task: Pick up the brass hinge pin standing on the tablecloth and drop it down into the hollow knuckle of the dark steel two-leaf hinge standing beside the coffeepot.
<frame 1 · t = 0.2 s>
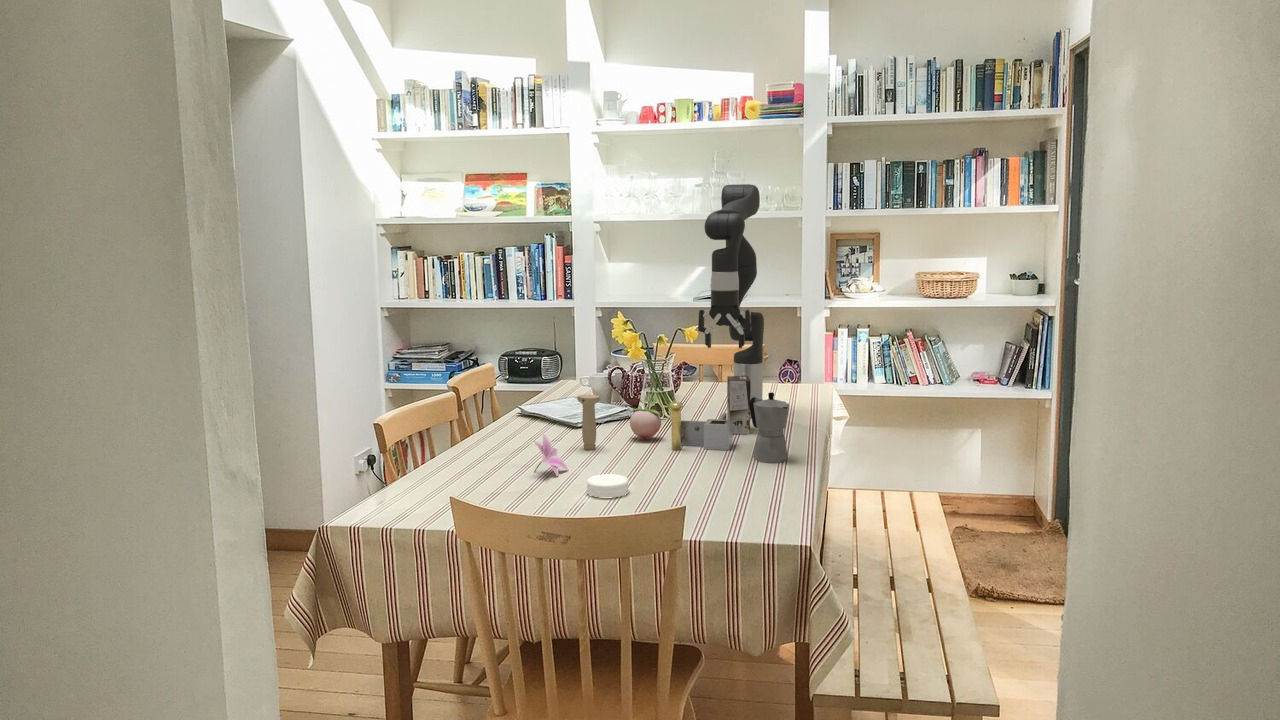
hand: (724, 347, 264), 29 cm above the table, tool pointing down, fingers open, 8 cm apart
white round disc: (607, 494, 230), on the table
handle: (589, 449, 272), on the table
decorative fruit: (645, 440, 281), on the table
coffeepot: (767, 458, 260), on the table
lily: (549, 474, 247), on the table
hinge leaves: (718, 446, 272), on the table
hinge pin: (676, 449, 270), on the table
coffee box: (738, 431, 291), on the table
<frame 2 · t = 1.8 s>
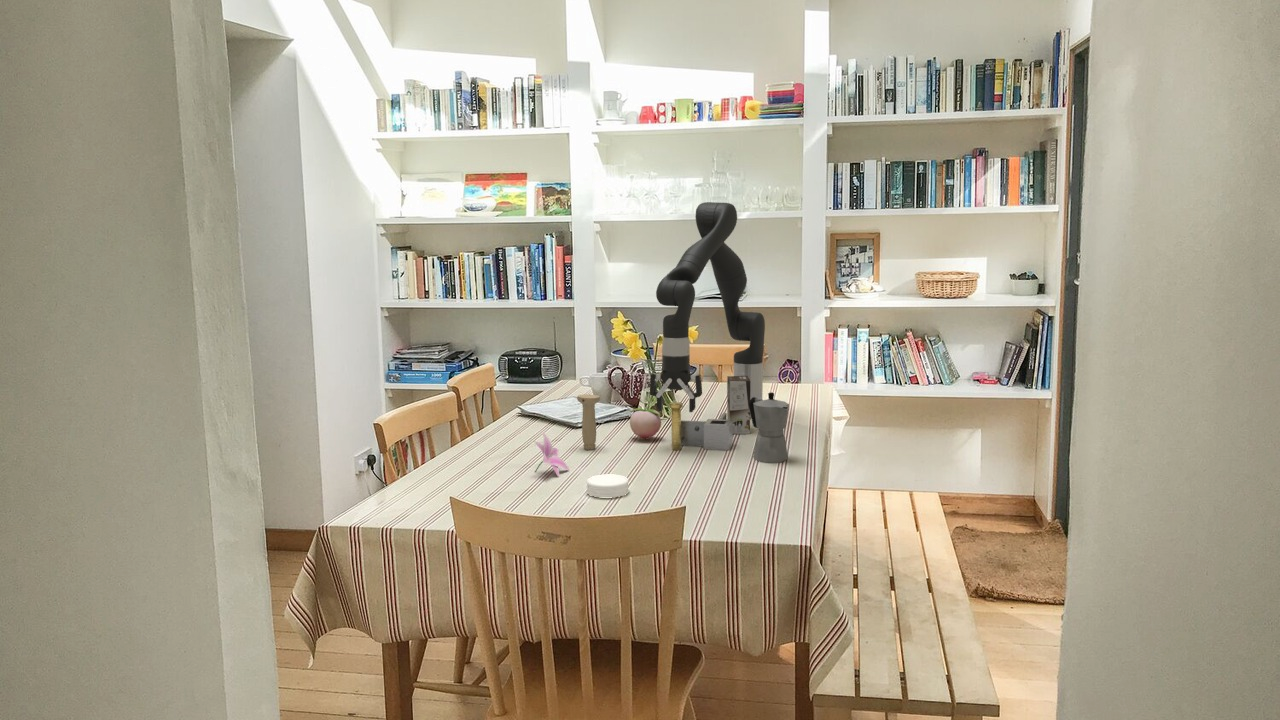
hand: (675, 411, 268), 11 cm above the table, tool pointing down, fingers open, 8 cm apart
nothing on the table moved.
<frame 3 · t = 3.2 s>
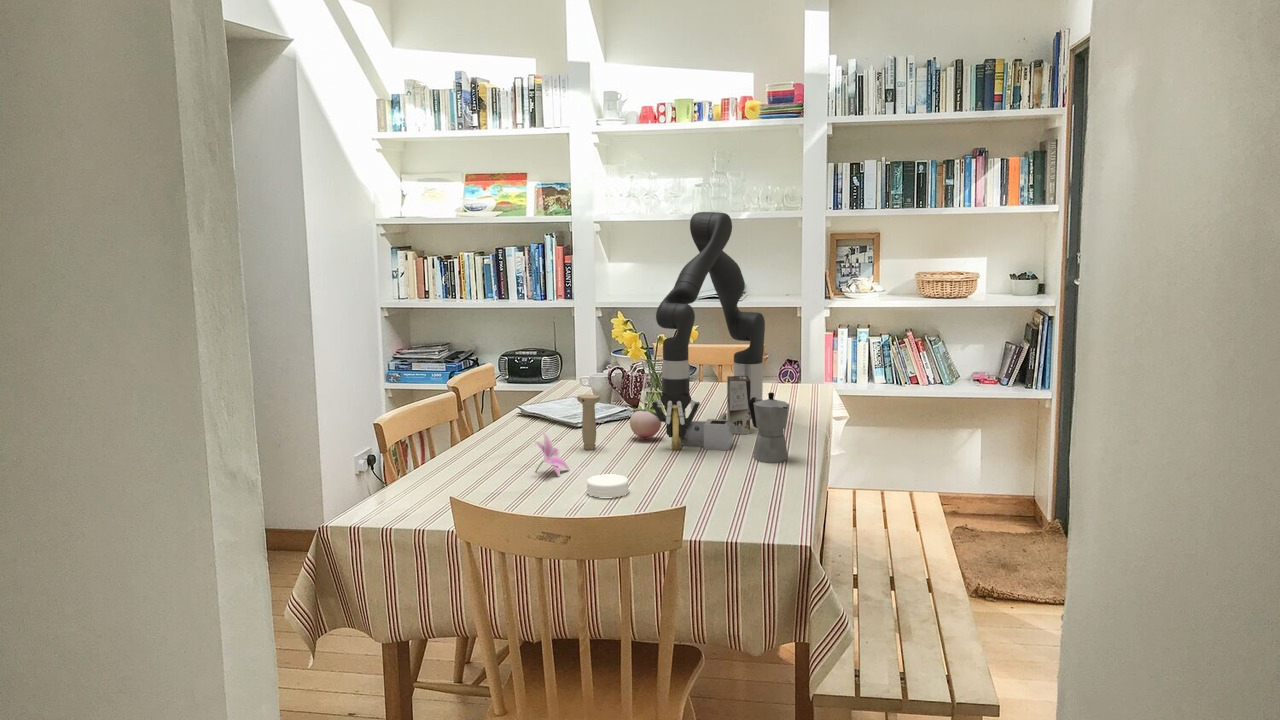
hand: (676, 436, 269), 4 cm above the table, tool pointing down, fingers closed on hinge pin, 2 cm apart
hinge pin: (676, 449, 270), on the table, touching gripper
everything else where it was.
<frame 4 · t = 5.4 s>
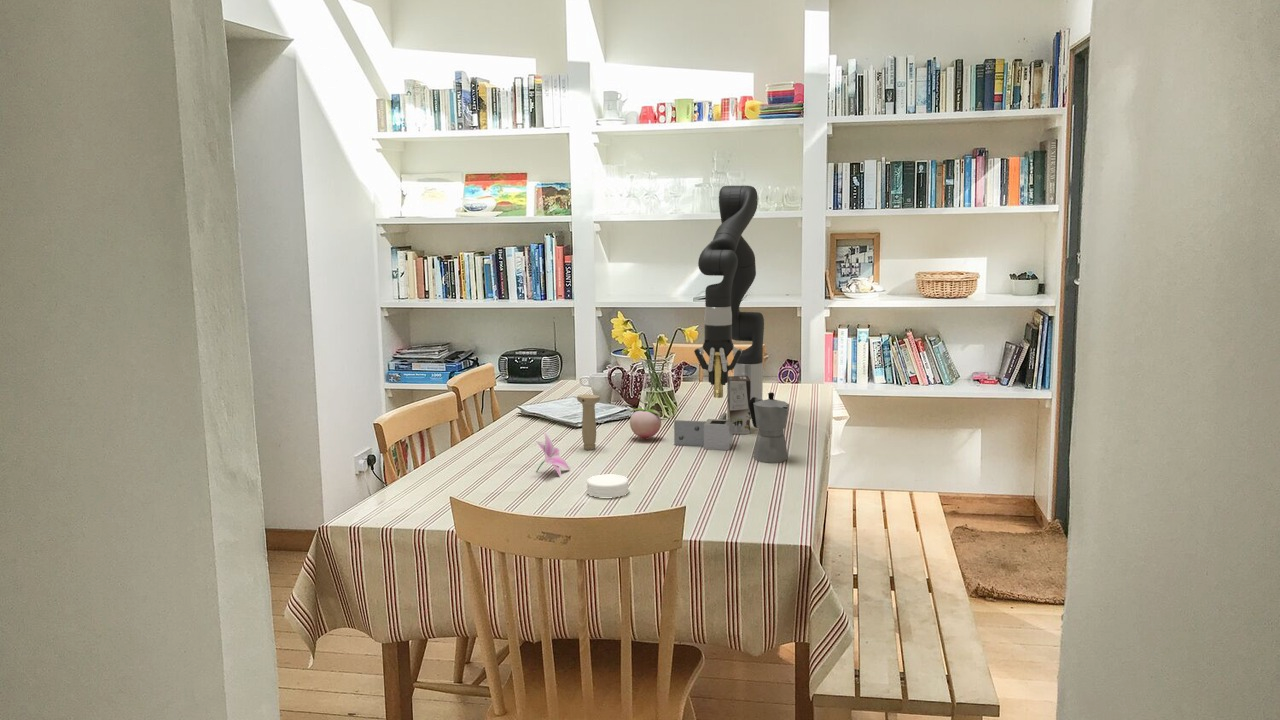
hand: (718, 384, 269), 18 cm above the table, tool pointing down, fingers closed on hinge pin, 2 cm apart
hinge pin: (718, 396, 270), point 14 cm above the table, touching gripper
everything else where it was.
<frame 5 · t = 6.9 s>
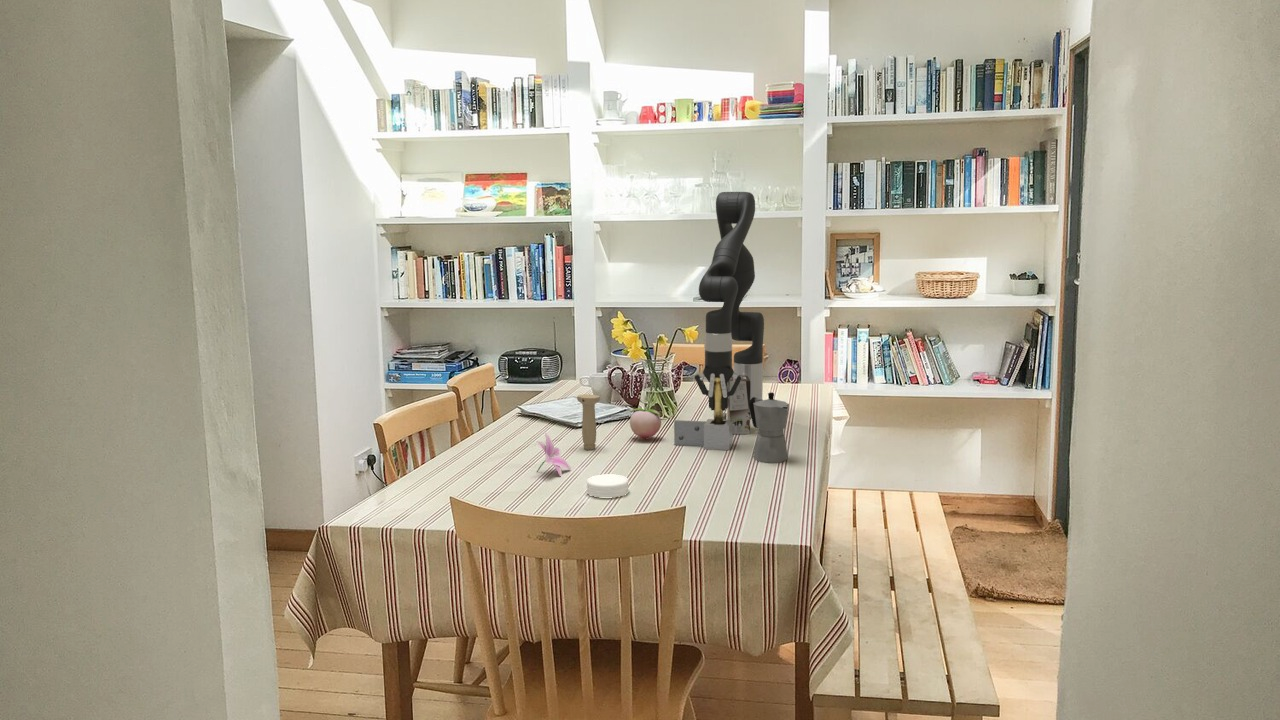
hand: (718, 409, 270), 11 cm above the table, tool pointing down, fingers closed on hinge pin, 2 cm apart
hinge pin: (718, 422, 271), point 7 cm above the table, touching gripper
everything else where it was.
when the fingers open (9 cm above the table, at t = 7.7 s): hinge pin drops 5 cm, resting in hinge leaves.
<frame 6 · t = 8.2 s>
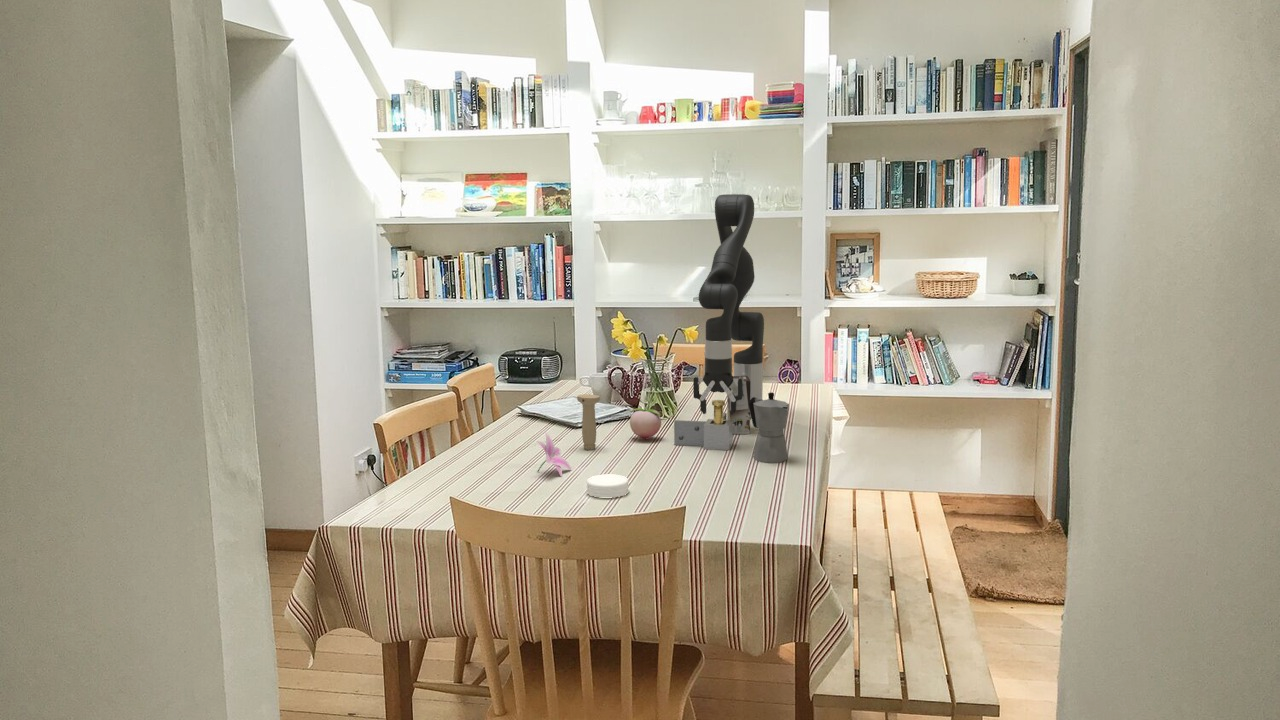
hand: (718, 413, 270), 9 cm above the table, tool pointing down, fingers open, 7 cm apart
hinge pin: (718, 446, 272), resting in hinge leaves
everything else where it was.
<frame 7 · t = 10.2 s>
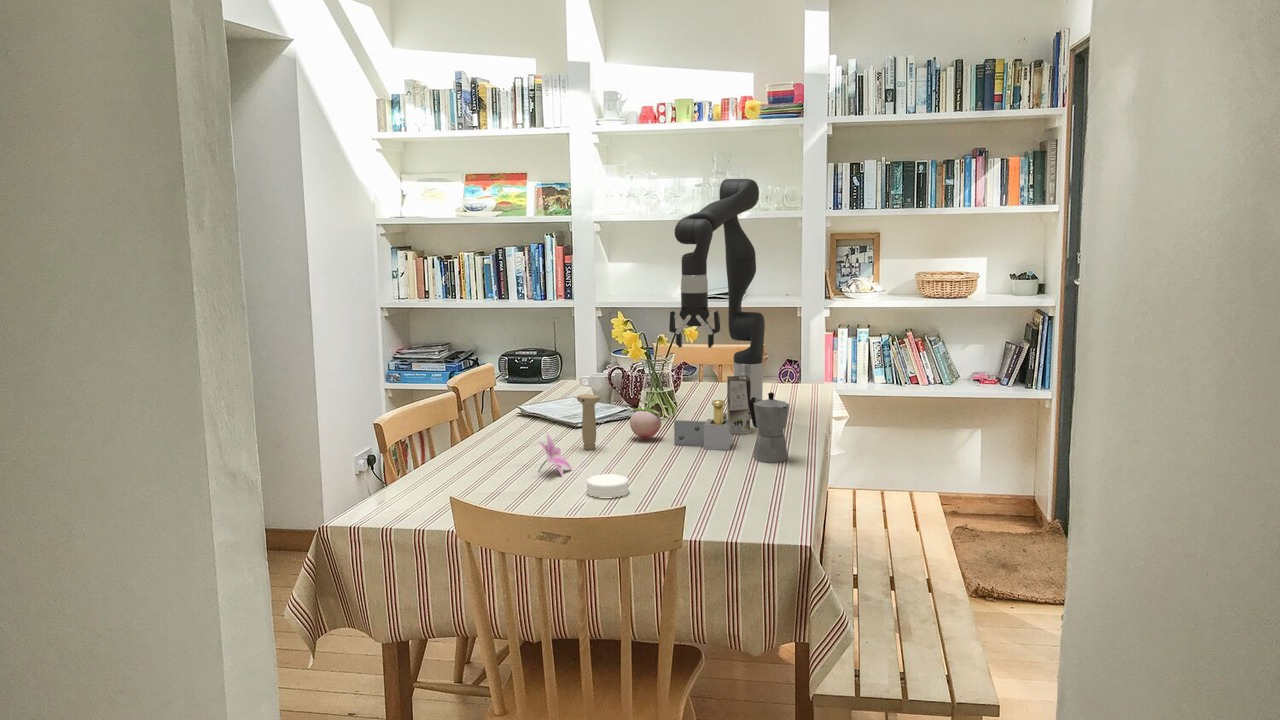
hand: (694, 347, 276), 27 cm above the table, tool pointing down, fingers open, 8 cm apart
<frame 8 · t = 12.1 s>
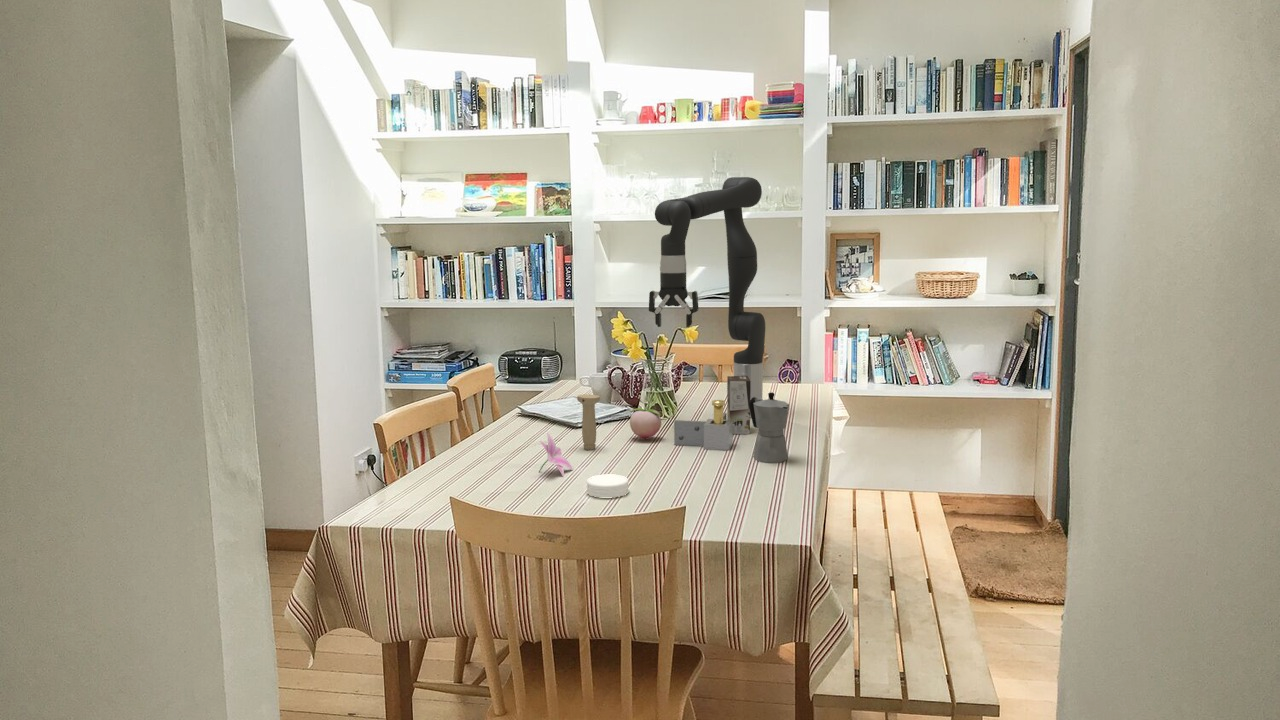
hand: (673, 326, 282), 32 cm above the table, tool pointing down, fingers open, 8 cm apart
at the end: hinge pin 0.0 cm off-centre on the hinge leaves, point 0.0 cm above the hinge leaves's base; hinge pin tilted 0°; the gripper is holding nothing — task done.
